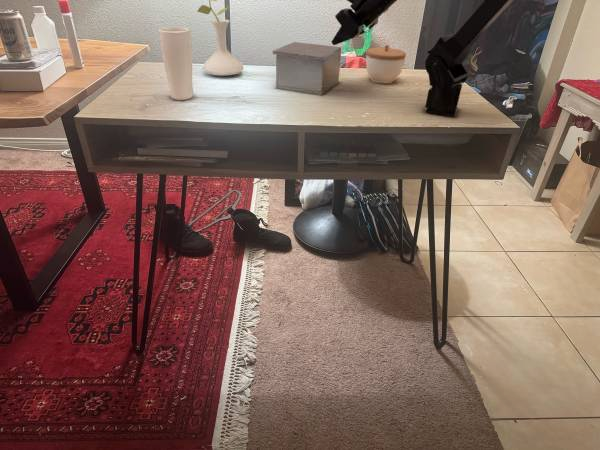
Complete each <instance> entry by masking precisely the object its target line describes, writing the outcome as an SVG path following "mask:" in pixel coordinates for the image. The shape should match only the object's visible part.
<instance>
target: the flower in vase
mask: <svg viewBox="0 0 600 450" xmlns="http://www.w3.org/2000/svg"><path fill="white" fill-rule="evenodd" d="M212 1H213V2H216V1H218V0H212ZM208 5H209V6H207V5H206V4H202V5H201V6H199V8H198V9H197V11H196V12H198V13H201V14H204V15H209V14H211V13H212V14H213V15H214V17H215V19H211V20H210V22H211V24H212V25H213V27H214V31H215V34H216V40H217V41H216V42H217V45H216V47H217V48H216V50H215V52H214V53H213V54H212V55H211V56H210V57H209V58H208V59H206V61H205V62H204V63H203V65H202V70H203V71H204V73H207V74H210V75H213V76H222V77H223V76H224V77H226V76H234V75H238V74H240V73H241V72H242V71H243V70H244V68H245V67H244V65H243V63H242V62H241V60H239V59H238V58H236V56H234V55H233V54H232V53H231V52H230V51H229V49H228V47H227V42H226V40H227V39H226V34H227V28H228V25H229V23H230V22H231V20H230V19H224V18H223V19H221V18H220V19H219V18H218V16H219V15H221V14H223V13H225V12H226V11H227V10H228V9H229V5H228V6H227V7H226V8H223V9H221V10H219V11H218V12H217V14H216V13H215V12H214V10H213V8H212V5H211V0H208Z"/></svg>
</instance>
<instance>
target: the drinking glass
mask: <svg viewBox="0 0 600 450" xmlns="http://www.w3.org/2000/svg"><path fill="white" fill-rule="evenodd" d="M191 35H192V34H191V29H189V28H188V27H184V26H166V27H161V28H158V38H159V45H160V51H161V56H162V61H163V66H164V70H165V75H166V79H167V84H168V89H169V95H170V98H171V99H173V100H176V101H187V100H190V99H193V98H194V85H193V79H194V78H193V46H192V45H193V44H192V36H191Z"/></svg>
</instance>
